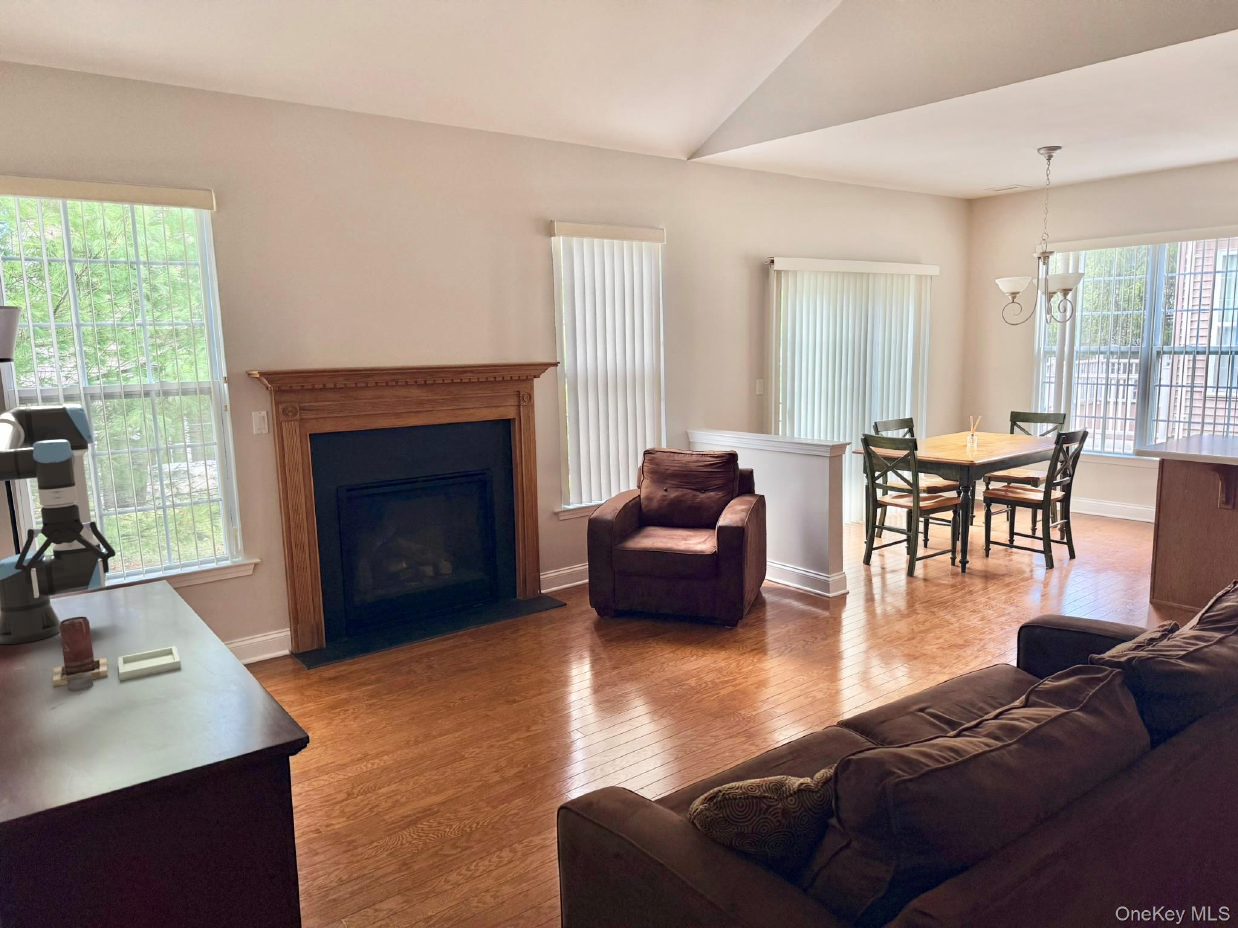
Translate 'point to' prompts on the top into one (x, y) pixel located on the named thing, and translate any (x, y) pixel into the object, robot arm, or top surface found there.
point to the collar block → (80, 676)
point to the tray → (148, 663)
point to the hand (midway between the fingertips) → (70, 591)
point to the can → (77, 645)
